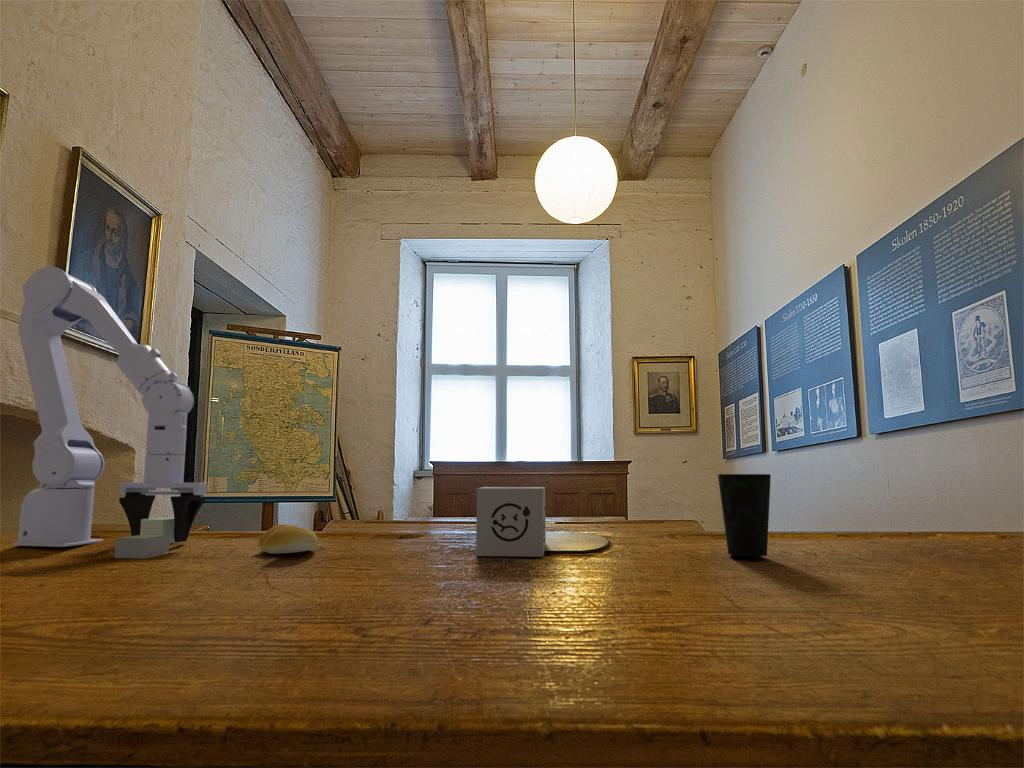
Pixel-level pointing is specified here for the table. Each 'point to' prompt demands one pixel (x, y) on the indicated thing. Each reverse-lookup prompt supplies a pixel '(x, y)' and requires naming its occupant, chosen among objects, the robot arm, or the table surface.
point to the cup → (745, 512)
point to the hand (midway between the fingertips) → (159, 541)
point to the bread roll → (287, 539)
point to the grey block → (141, 546)
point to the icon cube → (510, 521)
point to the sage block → (158, 527)
